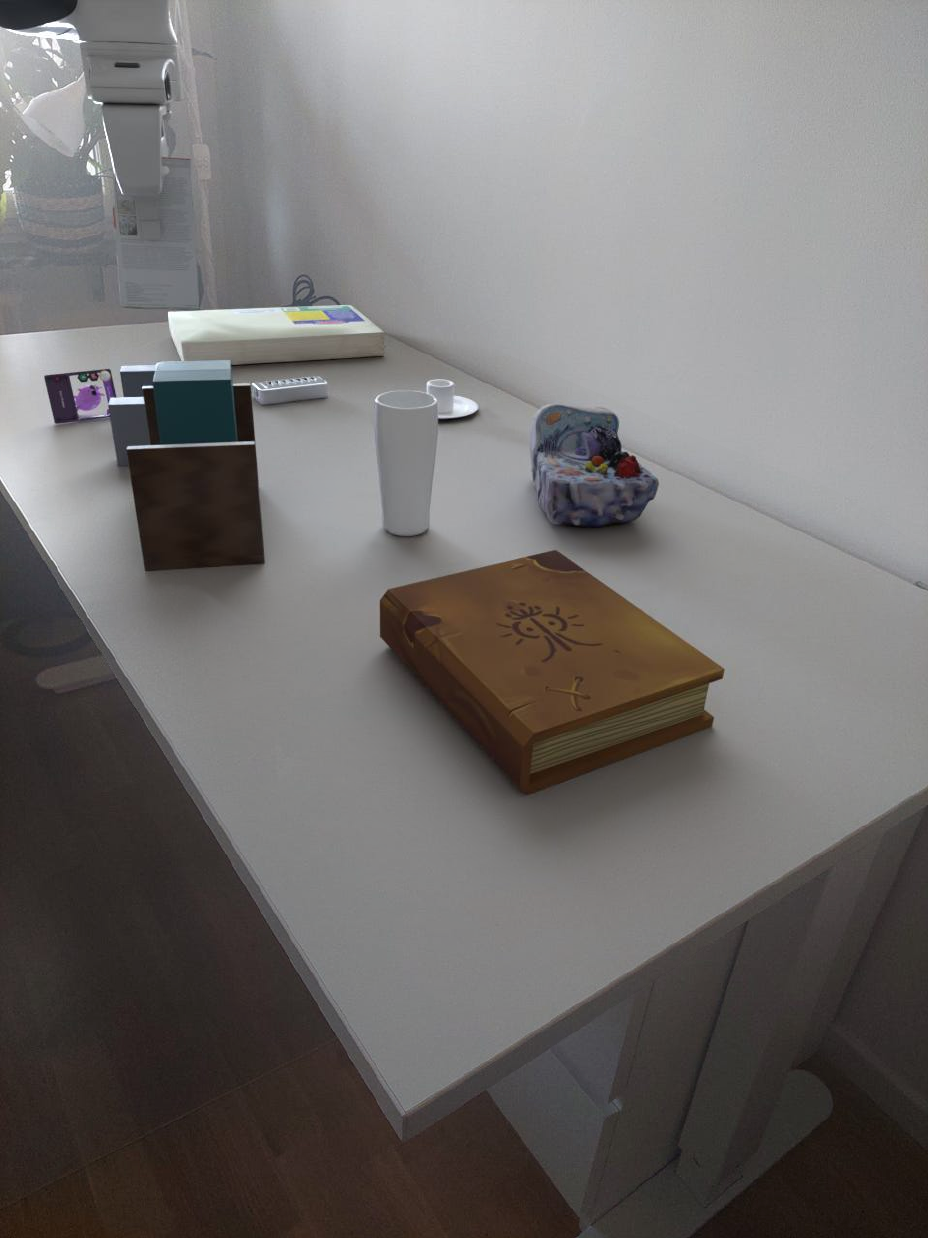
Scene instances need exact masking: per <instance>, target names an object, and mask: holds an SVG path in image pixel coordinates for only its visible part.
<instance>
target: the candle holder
mask: <svg viewBox="0 0 928 1238" xmlns="http://www.w3.org/2000/svg"><path fill="white" fill-rule="evenodd" d="M426 393H428V394H431V395H433V396H434V397H436V399H437V401H438V420H447V419H457V418H462V417H467V416H469V415H472V414H474V413H476V412H477V411H478V409H479V405H478V403H477V402H475V401H474V400H472V399H470V398H467V397H464V396H459V395H455V383H454V382H453V381H451V380H448V379H437V378H436V379H431V380H428V381H427V382H426Z"/></svg>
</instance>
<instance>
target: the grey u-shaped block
mask: <svg viewBox="0 0 928 1238" xmlns="http://www.w3.org/2000/svg"><path fill="white" fill-rule="evenodd" d="M156 366H157V364H147V365H145V364H143V365H139V364H138V365H121V368H120V371H119V376H120V382H121V389H122V395H123V396H122V397H117V398H110V401H109V404H108V403H107V409H109V415H110V417H109V420H110V425H111V431H112V438H113V444H114V450H115V456H116V462H117V463H116V464H117V466H118V467H122V466H129V464H128V458H127V451H126V449H127V446H144V445H150V439H149V432H148V425H147V418H146V411H145V404H144V397H143V390H142V389H143V386H153V378H154V374H155V370H156Z"/></svg>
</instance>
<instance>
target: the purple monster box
mask: <svg viewBox="0 0 928 1238" xmlns="http://www.w3.org/2000/svg"><path fill="white" fill-rule="evenodd" d="M72 376H73V377H74V376H77V379H78V381H79V382H80V383H82V384H83V383H87V382H88V380H89V381H90V382H98V380H99V379H100V380H101V381H102V384H103V387H104V391H105V394H104V393H101V392H100V389H103V387H102V386H99V385H97V384H91V385H90V384H86V385H84V386H82V387H81V388H76V390H77V391H79V392H78V394H77V395H74V391H73V387H72V382H71V377H72ZM43 378H44V383H45V388H46V392H47V396H48V400H49V404H50V409H51V412H52V418H53V422H54V424H55V425H59V424H66V423H68V424H69V423H76V422H83V421H91V420H99V419H100V420H101V419H107V418H110V414H109V408H107V409H106V414H103V415H102V414H101V415H96V416H87V417H79V413H78V412H80V410H81V411H84V412H89V411H93V410H95V409H96V408H97V407H98V406H99V405H100V404H101V401H102V396H103V397H105V396H106V400H107V405H108V404H109V401H110V398H118V396H117V393H116V387H115V384H114V378H113V375H112V369H110V368H103V369H92V370H84V371H75V372H65V373H53V374H45V375H44V376H43Z"/></svg>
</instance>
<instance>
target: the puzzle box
mask: <svg viewBox="0 0 928 1238" xmlns="http://www.w3.org/2000/svg"><path fill="white" fill-rule="evenodd" d="M167 316H168V329H169V334H170V336H171V339H172V341H173V343H174V346H175V349H176V351H177V353H178V354H177V355H178V356H179V358H180V361H207V360H231V366H236V365H238V366H239V365H250V364H251V365H252V364H266V363H269V364H270V363H285V362H303V361H318V360H319V361H321V360H331V359H332V360H335V359H352V358H365V357H366V358H367V357H384V356H385V349H386V344H385V331H383V330H382V329H381V328H380V327H379V326H377V325H376V324H375V323H374V322H373V321H371V320H370V319H369V318H368V317H366V316H365V315H364V314H363V313H362V312H360V311H359V310H358V309H357V308H355V307H354V306H353V305H352V304H343V305H310V306H309V305H308V306H306V305H305V306H282V307H280V306H278V307H253V308H252V307H251V308H229V309H204V310H179V311H168V312H167Z"/></svg>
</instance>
